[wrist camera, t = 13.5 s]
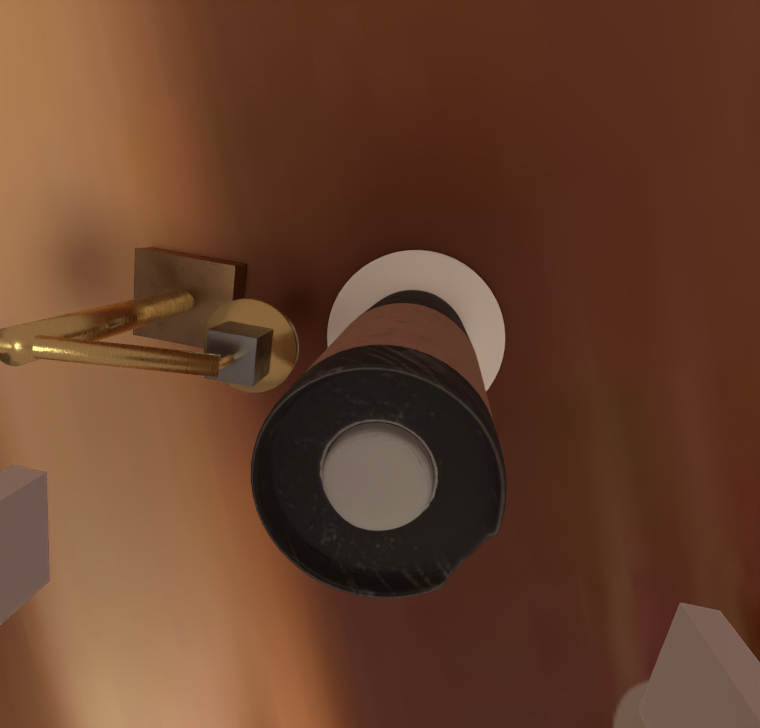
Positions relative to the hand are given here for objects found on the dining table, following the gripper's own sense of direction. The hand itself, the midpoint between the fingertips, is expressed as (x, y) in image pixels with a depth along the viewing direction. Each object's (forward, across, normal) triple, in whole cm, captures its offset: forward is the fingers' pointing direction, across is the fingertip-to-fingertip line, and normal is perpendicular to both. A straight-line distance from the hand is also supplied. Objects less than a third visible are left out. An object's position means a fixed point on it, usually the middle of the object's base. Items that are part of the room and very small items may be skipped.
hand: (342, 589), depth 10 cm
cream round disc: (+25, +1, 0) cm, 25 cm away
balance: (+25, -15, 0) cm, 30 cm away
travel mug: (+24, 0, 0) cm, 24 cm away
